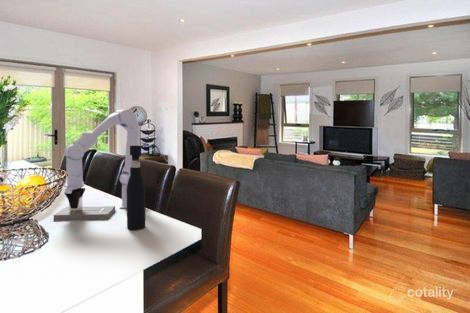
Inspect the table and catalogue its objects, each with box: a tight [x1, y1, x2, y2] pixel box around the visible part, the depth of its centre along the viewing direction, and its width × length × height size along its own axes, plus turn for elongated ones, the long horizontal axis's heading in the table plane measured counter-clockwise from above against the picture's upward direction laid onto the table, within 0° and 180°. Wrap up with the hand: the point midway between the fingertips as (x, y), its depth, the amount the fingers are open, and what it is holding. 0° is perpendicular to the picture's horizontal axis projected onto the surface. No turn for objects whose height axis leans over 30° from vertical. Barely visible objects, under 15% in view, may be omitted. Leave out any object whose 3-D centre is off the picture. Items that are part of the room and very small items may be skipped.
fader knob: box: [68, 196, 83, 211], centre depth 124 cm, size 4×3×5 cm
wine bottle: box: [126, 145, 146, 231], centre depth 110 cm, size 6×6×30 cm
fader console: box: [53, 205, 116, 221], centre depth 125 cm, size 20×12×2 cm, turn 98°
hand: (75, 207), depth 124 cm, fingers closed on fader knob, 3 cm apart
